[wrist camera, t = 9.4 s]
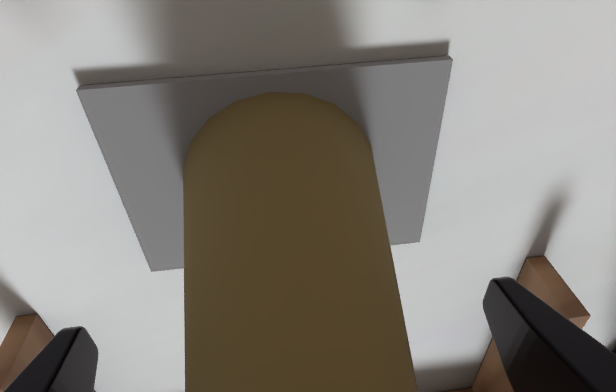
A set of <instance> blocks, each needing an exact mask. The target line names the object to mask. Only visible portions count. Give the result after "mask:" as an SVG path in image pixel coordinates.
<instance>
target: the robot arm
mask: <svg viewBox="0 0 616 392" xmlns="http://www.w3.org/2000/svg"><path fill="white" fill-rule="evenodd" d="M483 309H484V313H485V315H486V318H487V321H488V324H489V327H490V330H491V333H492V336H493V339H494V342H495V345H496V347H497V350H498V353H499V356H500V359H501V362H502V365H503V367H504V370H505V373H506V375H507V377H508V380H509V382H510V384H511V386H512V389H513V391H514V392H616V352H615V353H613V352H612V351H610V350H609V349H608V348H606V347H605V346H604V345H602V344H601V343H599V342H598V341H597V340H595V339H594V338H593V337H591V336H590V335H589V334H587V333H586V332H585V331H583V330H582V329H581V328H579V327H578V326H576V325H575V324H574V323H572V322H571V321H570V320H568V319H567V318H566V317H564V316H563V315H562V314H560V313H559V312H558V311H556V310H555V309H553V308H552V307H551V306H549V305H548V304H547V303H545V302H544V301H543V300H541V299H540V298H539V297H537V296H536V295H534V294H533V293H532V292H530V291H529V290H528V289H526V288H525V287H524V286H522V285H521V284H520V283H518V282H517V281H516V280H514V279H512V278H510V277H500V278H493V279H492V280H491V281H490V282H489V285H488V288H487V291H486V293H485V296H484V299H483ZM97 362H98V349H97V346H96V344H95V343H94V341H93V340H92V338H91V337H90V335H89V333H88V332H87V330H86V329H85V328H84V327H82V326H78V327H70V328H64V329H62V330H61V331H59V332H58V333H57V334H56V335H55V336H54V337H53V338H52V339H51V341H50V342H49V343H48V344H47V345H46V346H45V347H44V348H43V349H42V350H41V351H40V352H39V353H38V355H37V356H36V357H35V358H34V359H33V360H32V361H31V362H30V363H29V364H28V365H27V366H26V367H25V369H24V370H23V371H22V372H21V373H20V374H19V375H18V376H17V377H16V378H15V379H14V380H13V381H12V382H11V384H10V385H9V386H8V387H7V388H6V389H5V390H4V391H3V392H93V390H94V383H95V376H96V369H97Z"/></svg>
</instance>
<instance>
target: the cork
mask: <svg viewBox="0 0 616 392" xmlns="http://www.w3.org/2000/svg"><path fill="white" fill-rule="evenodd" d="M183 214H184V312H185V392H418V389H417V384H416V379H415V373H414V368H413V363H412V358H411V352H410V347H409V342H408V337H407V331H406V326H405V321H404V316H403V310H402V305H401V300H400V295H399V289H398V284H397V279H396V274H395V268H394V263H393V258H392V253H391V247H390V242H389V237H388V232H387V226H386V221H385V216H384V211H383V205H382V200H381V195H380V190H379V185H378V179H377V174H376V169H375V164H374V158H373V153H372V148H371V145H370V143H369V141H368V139H367V138H366V136H365V134H364V133H363V131H362V129H361V128H360V126H359V124H358V123H357V122H356V121H355V120H354V119H352V118H351V117H350V116H349V115H347V114H346V113H345V112H344V111H342V110H341V109H340V108H338V107H337V106H336V105H335V104H332V103H329V102H327V101H324V100H321V99H318V98H315V97H313V96H310V95H307V94H304V93H282V92H268V93H264V94H260V95H256V96H252V97H249V98H245V99H241V100H237V101H235V102H233V103H232V104H230V105H229V106H227V107H226V108H224V109H223V110H221V111H219V112H218V113H216V114H215V115H213V116H212V117H210V118H209V119H208V120H207V121H206V122H205V124H204V125H203V126H202V128H201V129H200V130H199V131H198V133H197V134H196V135H195V137H194V138H193V139H192V140H191V142H190V145H189V149H188V152H187V155H186V159H185V162H184V166H183Z"/></svg>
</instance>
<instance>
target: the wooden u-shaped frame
mask: <svg viewBox="0 0 616 392" xmlns="http://www.w3.org/2000/svg"><path fill="white" fill-rule="evenodd" d="M517 282H518V283H520V284H521V285H522V286H524V287H525V288H526V289H528V290H529V291H530V292H532V293H533V294H534V295H536V296H537V297H539V298H540V299H541V300H543V301H544V302H545V303H547V304H548V305H549V306H551V307H552V308H553V309H555V310H556V311H558V312H559V313H560V314H562V315H563V316H564V317H566V318H567V319H568V320H570V321H571V322H572V323H574V324H575V325H576V326H578V327H579V328H581V329H582V328H583V327H584V325H585V324H586V322H587V320H588V319H589V317H590V316H591V315H590V314H589V313H588V311H587V310H586V309H585V308H584V306H583V305H582V304H581V302H580V301H579V300H578V298H577V297H576V296H575V295H574V293H573V292H572V291H571V289H570V288H569V287H568V285H567V284H566V283H565V282H564V280H563V279H562V278H561V276H560V275H559V274H558V272H557V271H556V270H555V269H554V267H553V266H552V265H551V263H550V262H549V261H548V259H547V258H546V257H545V256H540V257H531V258H526V261H525V263H524V265H523V268H522V270H521V273H520V275H519V277H518V280H517ZM53 337H54V336H53V335H52V333H51V332H50V331H49V329H48V328H47V327H46V325H45V324H44V323H43V321H42V320H41V319H40V317H39V316H38V314H34V315H25V316H16V318H15V319H14V321H13V323H12V325H11V327H10V329H9V331H8V333H7V335H6V337H5V339H4V340H3V342H2V344H1V346H0V392H3V391H4V390H5V389H6V388H7V387H8V386H9V385H10V384H11V382H12V381H13V380H14V379H15V378H16V377H17V376H18V375H19V374H20V373H21V372H22V371H23V370H24V369H25V367H26V366H27V365H28V364H29V363H30V362H31V361H32V360H33V359H34V358H35V357H36V356H37V355H38V353H39V352H40V351H41V350H42V349H43V348H44V347H45V346H46V345H47V344H48V343H49V342H50V341H51V339H52V338H53ZM93 392H95V391H94V390H93ZM446 392H514V391H513V389H512V386H511V384H510V382H509V380H508V377H507V375H506V373H505V370H504V367H503V365H502V362H501V359H500V356H499V353H498V350H497V347H496V345H495V342H494V339H492V341H491V343H490V346H489V348H488V350H487V353H486V355H485V357H484V360H483V362H482V364H481V367H480V369H479V372H478V374H477V376H476V379H475V381H474V383H473V386H472V388H468V389H460V390H453V391H446Z"/></svg>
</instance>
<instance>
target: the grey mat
mask: <svg viewBox="0 0 616 392" xmlns="http://www.w3.org/2000/svg"><path fill="white" fill-rule="evenodd" d="M452 61H453V59H452V58H451V57H450V56H438V57H425V58H413V59H401V60H389V61H376V62H364V63H352V64H339V65H327V66H315V67H303V68H290V69H278V70H266V71H253V72H241V73H229V74H217V75H204V76H192V77H180V78H167V79H155V80H143V81H131V82H118V83H106V84H94V85H81V86H79V87H78V88H77V90H76V92H77V94H78V96H79V99H80V101H81V104H82V106H83V108H84V111H85V113H86V116H87V118H88V120H89V123H90V125H91V128H92V130H93V132H94V135H95V137H96V140H97V142H98V144H99V147H100V149H101V152H102V154H103V156H104V159H105V161H106V164H107V166H108V169H109V171H110V173H111V176H112V178H113V181H114V183H115V185H116V188H117V190H118V193H119V195H120V197H121V200H122V202H123V205H124V207H125V209H126V212H127V214H128V217H129V219H130V221H131V224H132V226H133V229H134V231H135V233H136V236H137V238H138V241H139V243H140V246H141V248H142V250H143V253H144V255H145V258H146V260H147V262H148V265H149V267H150V270H151V272H152V271H161V270H170V269H179V268H184V214H183V166H184V162H185V159H186V155H187V152H188V149H189V145H190V142H191V140H192V139H193V138H194V137H195V135H196V134H197V133H198V131H199V130H200V129H201V128H202V126H203V125H204V124H205V122H206V121H207V120H208V119H209V118H210V117H212V116H213V115H215V114H216V113H218V112H219V111H221V110H223V109H224V108H226V107H227V106H229V105H230V104H232V103H233V102H235V101H237V100H241V99H245V98H249V97H252V96H256V95H260V94H264V93H268V92H282V93H304V94H307V95H310V96H313V97H315V98H318V99H321V100H324V101H327V102H329V103H332V104H335V105H336V106H337V107H338V108H340V109H341V110H342V111H344V112H345V113H346V114H347V115H349V116H350V117H351V118H352V119H354V120H355V121H356V122H357V123H358V124H359V126H360V128H361V129H362V131H363V133H364V134H365V136H366V138H367V139H368V141H369V143H370V145H371V148H372V153H373V158H374V164H375V169H376V174H377V179H378V185H379V190H380V195H381V200H382V205H383V211H384V216H385V221H386V226H387V232H388V237H389V242H390V245H397V244H406V243H415V242H420V237H421V232H422V226H423V221H424V215H425V210H426V204H427V199H428V193H429V188H430V182H431V177H432V171H433V166H434V160H435V155H436V149H437V144H438V138H439V133H440V127H441V122H442V116H443V111H444V105H445V100H446V94H447V89H448V83H449V78H450V72H451V67H452Z"/></svg>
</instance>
